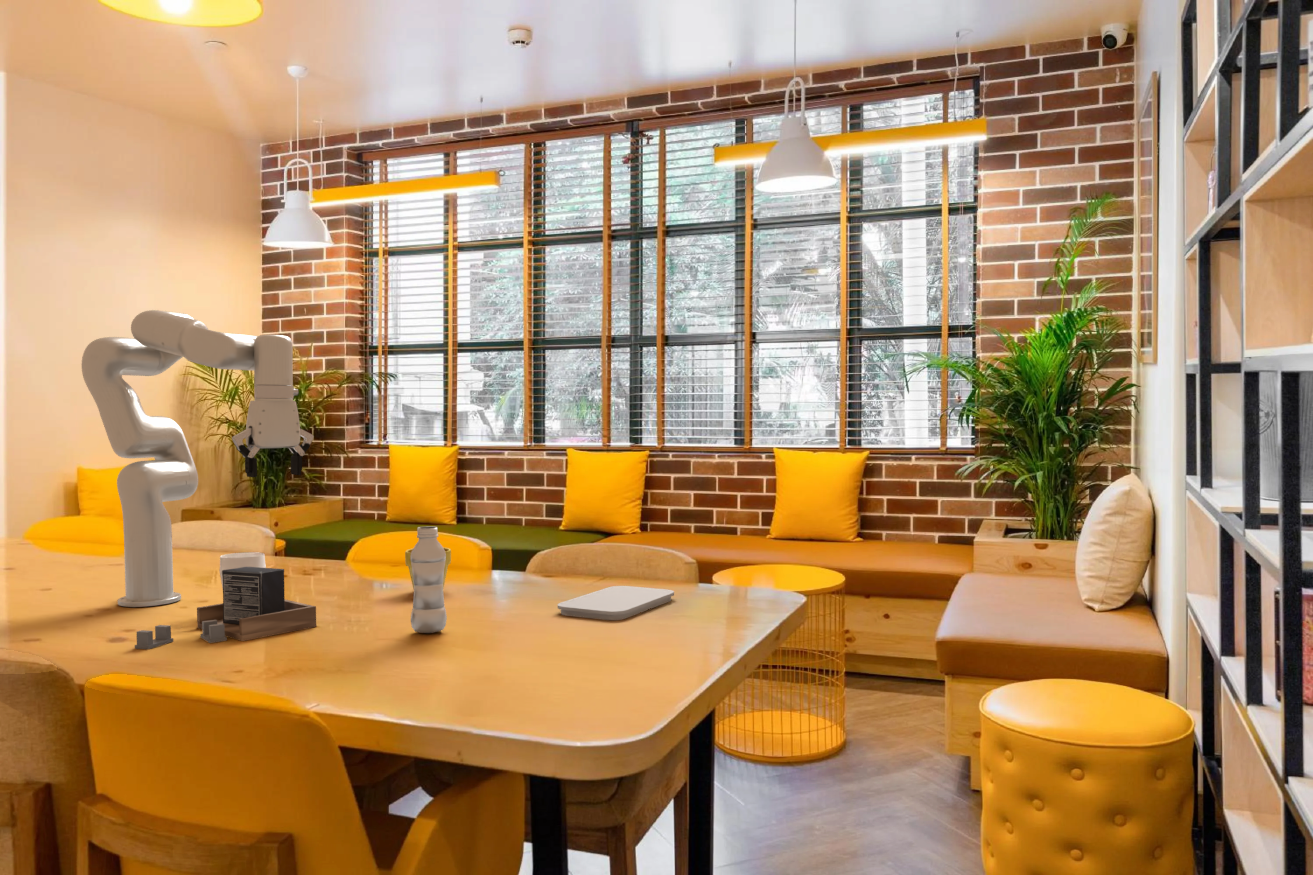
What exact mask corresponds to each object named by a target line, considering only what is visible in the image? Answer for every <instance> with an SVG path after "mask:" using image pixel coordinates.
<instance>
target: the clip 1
mask: <svg viewBox="0 0 1313 875" xmlns="http://www.w3.org/2000/svg"><path fill="white" fill-rule="evenodd" d="M171 627H172V626H171V625H167V624H166V625H165V624H159V625H155V626H154V631H153V630H147V629H146V630H145V629H143V630H142V629H141V630H137V631H136V644H134V649H137V650H138V649H140V650H150V649H151V650H152V649H153V648H158V647H161V646H164V645H166V644H171V643H173V642H174V638H172V628H171ZM153 632H154V634H153ZM154 635H155V636H154ZM153 636H154V637H153Z"/></svg>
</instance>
